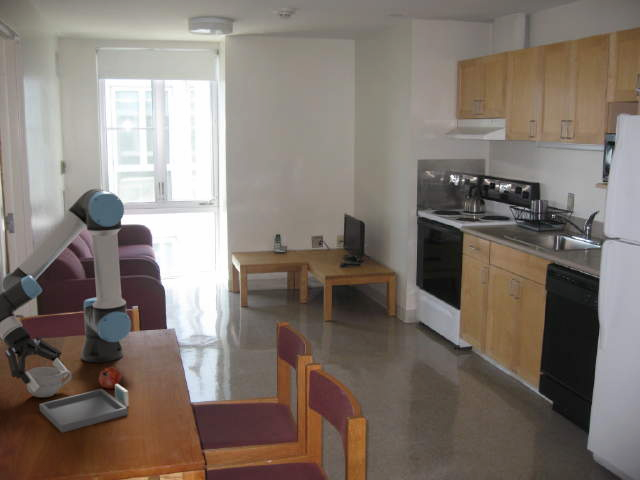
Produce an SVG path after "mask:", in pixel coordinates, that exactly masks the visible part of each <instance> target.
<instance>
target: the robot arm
mask: <svg viewBox="0 0 640 480" xmlns="http://www.w3.org/2000/svg"><path fill="white" fill-rule="evenodd" d="M124 214H125V208H124V203H123V201H122V200H121V198H120V197H118V196H117V194H115V193H113V192H111V191H108V190H103V189H100V188H92V189H89V190H87V191H85V192H84V193H83V194H82V195H81V196H80V197H79V198H78V199H77V200H76V201H75V202H74V203H73V204H72V206H70V207H69V208H68V210H67V215H66V216H65V217H64V218H63V219H62V220H61V221H60V222H59V223H58V224H57V225H56V226H55V228H54V229H52V231H50V233H49V234H48V235H47V236H46V237H45V238H44V239H43V240H42V241H41V242H40V243H39V245H37V246H36V247H35V249H33V250H32V252H30V253H29V255H28V256H27V257H26V258H25V259H24V260H23V261H22V262H21V263H20V264H19V266H18V267H17V268H16V269H14V270H13V272H9V273H8V274H6V275H4V277H3V278H2V287H3V290H4V291H2V292H0V338H1V340H3V342H4V343H5V345H6V346H7V347H8V348H7V349H6V351H5V352H4V354H5V356H6V358H7V361H8V365H9V369H10V373H11V377H12V378H16V379H21V380H22V381H23V383H24V384H25V385H27V384H28V386H29V387H30V388H31V390H32V391H33V392H36V391H37V390H38V389H39V387H40V386H39V385H38V384H37V382H36V381H35V380H34V379H33V377H32V376H31V375H30V374H29V372H28V370H27V371H26V358H28V357H29V356H32V355H34V356H39V357H42V358H44V359H46V360H49V361H50V362H51V361H52V365H53V367H54V368H58V369H60V370H62V372H63V371H65V370H68V369H67V367H66V366H65V363H64V362H63V361H62V360H61V358H60V357H61V355H62V352H61V350H58V349H57V348H55V347H54V346H52V345H50V344H49V343H47V342H46V341H44V340H43V339H42V337H40V336H39V335H38V336H37V337H35V338H34V339H32V338H31V335H30V333H29V331H28V330H27V328H25V326H23V323H22V322H21V321H20V320H19V319H18V318H17V316H16V315H15V314H14V312H16V311H17V310H19V309H20V308H22V307H23V306H25V305H26V304H27V303H30V301H33V300H34V299H36V297H38V296H39V295H40V294H41V293H42V292H43V289H42V287H41V285H40V284H39V282H37V281H36V280H38V278H39V277H40V276H41V275H42V274H43V273H44V272H45V271H46V269H48V268H49V266H50V265H51V264H52V263H53V262H55V260H56V259H57V258H58V257H59V256H60V255H61V254H62V253H63V251H65V249H66V248H68V246H69V245H70V244H71V243H72V242H73V241H75V239H76V238H77V237H78V236H79V235H80V234H81V232H83V230H86V229H87V232H89V233H90V234H91V236H92V251H93V252H92V253H93V264H94V265H93V268H94V281H95V293H96V295H95V296H96V297H92V298H88V299H85V300H84V301H83V308H82V309H83V319H84V333H85V334H84V335H85V337H84V343H83V346H82V349H81V354H80V355H81V360H83V361H84V362H87V363H95V364H96V363H97V364H98V363H107V362H112V361H115V360H118V359H120V358H122V357H123V355H124V352H123V351H124V350H123V346H122V343H121V342H120V341H122V340H123V339H124V338H127V336H128V334H129V333H130V331H131V328H132V321H131V319H130V317H129V315H128V311H127V301H126V300H125V299H124V298H123V297H122V285H121V284H122V283H121V270H120V268H121V267H120V256H119V239H118V237H119V236H118V233H119V232H120V230H121V229H122V219H123V217H124ZM67 376H69V375H68V374H64V375H63V377H62V379H63V378H67Z"/></svg>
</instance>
